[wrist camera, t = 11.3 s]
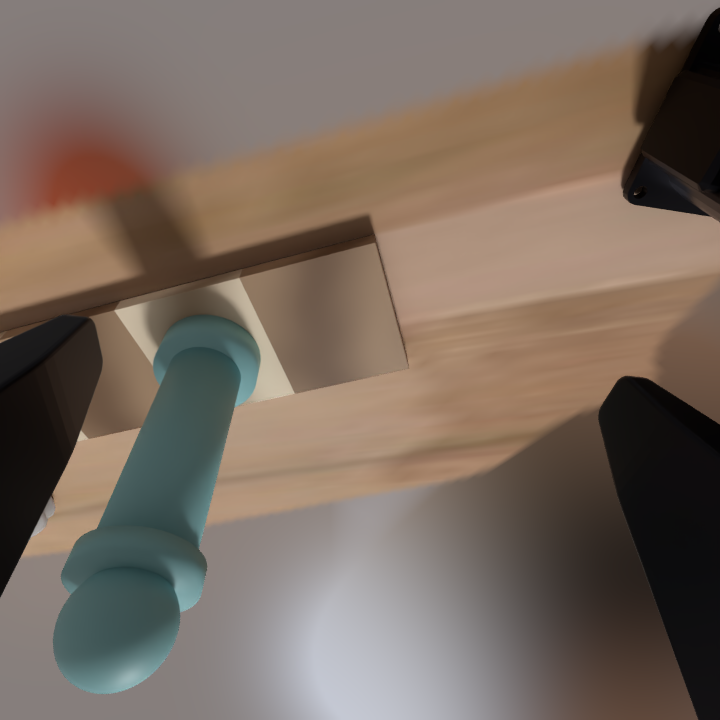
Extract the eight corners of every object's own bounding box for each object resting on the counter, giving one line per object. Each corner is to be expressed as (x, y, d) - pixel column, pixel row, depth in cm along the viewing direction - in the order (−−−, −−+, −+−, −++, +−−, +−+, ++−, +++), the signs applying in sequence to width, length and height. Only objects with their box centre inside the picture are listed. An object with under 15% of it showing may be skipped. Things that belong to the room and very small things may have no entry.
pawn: (262, 320, 22) (183, 657, 11) (259, 394, 25) (194, 721, 14) (157, 308, 22) (-30, 650, 11) (166, 385, 25) (25, 717, 14)
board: (374, 234, 21) (375, 242, 20) (407, 358, 25) (409, 368, 24) (-97, 357, 24) (-109, 368, 24) (2, 448, 28) (-5, 459, 28)
